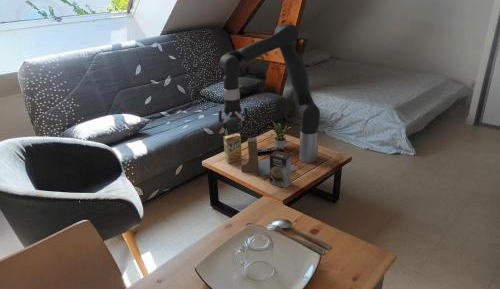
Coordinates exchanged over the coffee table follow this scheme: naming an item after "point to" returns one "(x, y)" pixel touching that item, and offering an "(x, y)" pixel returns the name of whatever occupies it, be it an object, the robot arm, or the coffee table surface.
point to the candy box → (232, 147)
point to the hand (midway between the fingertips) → (233, 128)
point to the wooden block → (251, 157)
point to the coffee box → (280, 168)
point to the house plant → (279, 136)
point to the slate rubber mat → (267, 167)
